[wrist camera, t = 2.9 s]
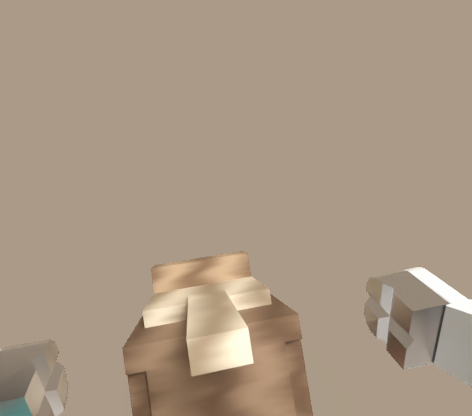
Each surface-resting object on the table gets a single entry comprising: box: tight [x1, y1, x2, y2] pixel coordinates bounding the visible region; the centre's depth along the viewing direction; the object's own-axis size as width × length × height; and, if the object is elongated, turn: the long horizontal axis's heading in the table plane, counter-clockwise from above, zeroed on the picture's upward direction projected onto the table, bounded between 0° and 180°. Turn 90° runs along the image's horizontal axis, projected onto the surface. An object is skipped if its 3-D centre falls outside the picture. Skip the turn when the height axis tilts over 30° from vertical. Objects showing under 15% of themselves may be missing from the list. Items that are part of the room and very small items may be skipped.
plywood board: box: [143, 251, 272, 376], centre depth 33 cm, size 12×28×4 cm, turn 8°
